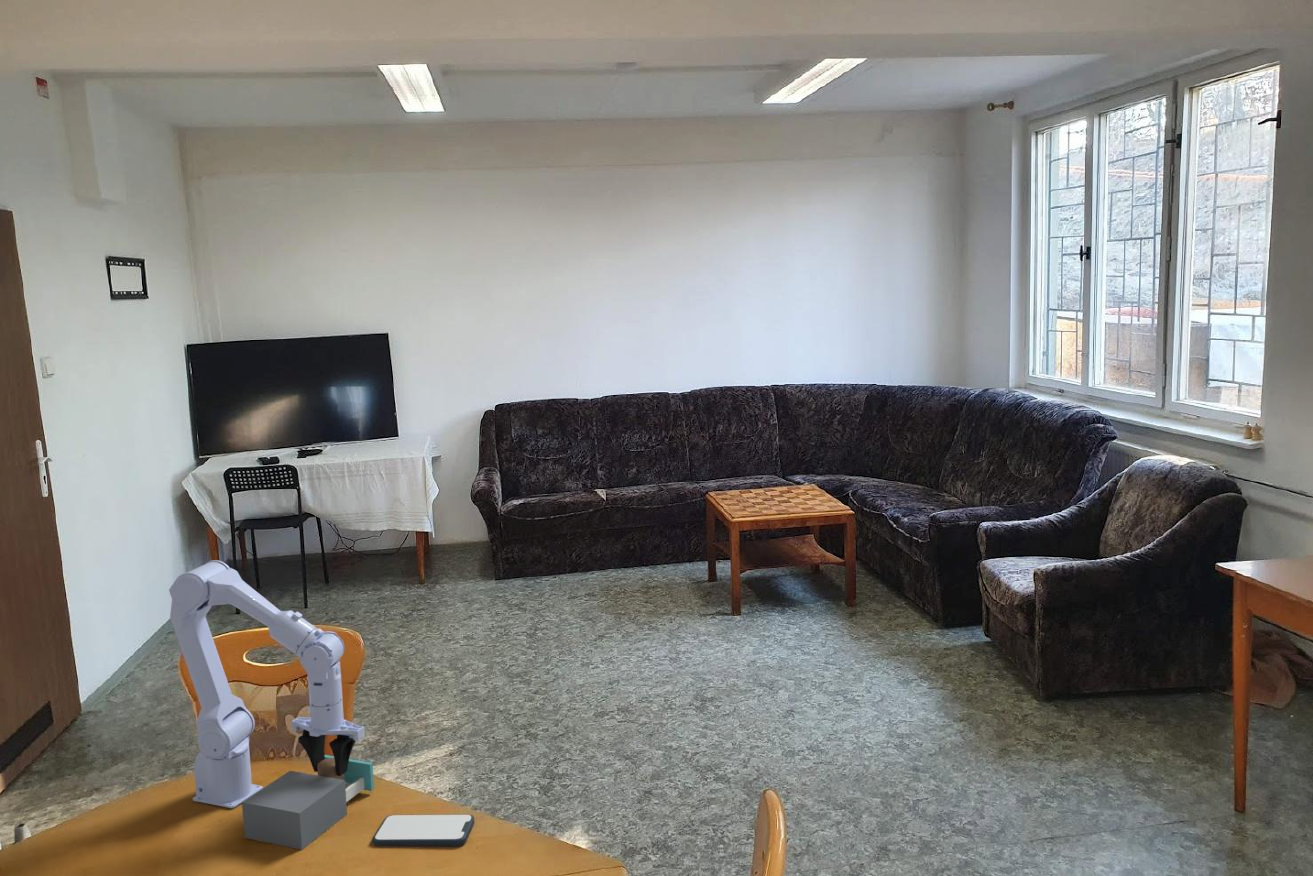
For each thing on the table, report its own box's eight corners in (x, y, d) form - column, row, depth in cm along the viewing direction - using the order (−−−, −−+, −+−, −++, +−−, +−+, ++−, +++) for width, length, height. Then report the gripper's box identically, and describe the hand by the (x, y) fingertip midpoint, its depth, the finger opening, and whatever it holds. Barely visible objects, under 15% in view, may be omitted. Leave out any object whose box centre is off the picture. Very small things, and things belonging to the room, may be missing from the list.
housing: (292, 804, 177) (289, 770, 176) (347, 814, 173) (344, 780, 173) (244, 837, 166) (241, 802, 165) (302, 849, 162) (299, 813, 161)
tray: (320, 779, 185) (319, 754, 184) (374, 789, 181) (372, 762, 180) (278, 809, 174) (276, 782, 173) (333, 820, 170) (332, 792, 169)
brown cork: (313, 785, 177) (311, 767, 177) (329, 774, 181) (328, 756, 181) (333, 789, 175) (332, 771, 175) (349, 777, 180) (348, 760, 179)
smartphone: (370, 850, 163) (464, 849, 162) (369, 841, 163) (463, 840, 162) (387, 822, 172) (476, 822, 171) (386, 814, 172) (475, 813, 171)
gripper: (278, 704, 175) (283, 775, 177) (345, 714, 170) (349, 787, 172) (304, 690, 181) (309, 758, 183) (369, 699, 177) (373, 769, 178)
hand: (330, 771), depth 178 cm, fingers closed on brown cork, 4 cm apart
